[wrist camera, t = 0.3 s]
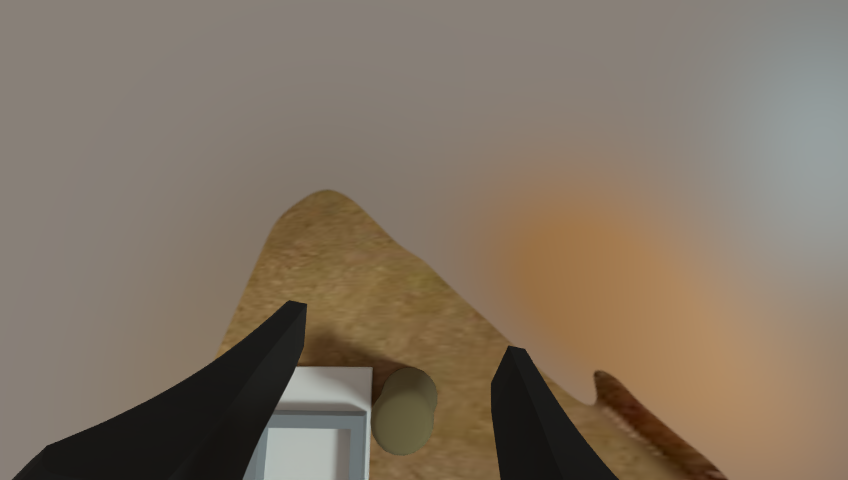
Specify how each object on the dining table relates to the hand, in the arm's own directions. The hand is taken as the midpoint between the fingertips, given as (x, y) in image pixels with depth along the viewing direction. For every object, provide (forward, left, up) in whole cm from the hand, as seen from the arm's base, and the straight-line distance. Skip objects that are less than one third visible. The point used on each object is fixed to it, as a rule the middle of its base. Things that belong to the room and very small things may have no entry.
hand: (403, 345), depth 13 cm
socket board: (-12, +11, -29) cm, 33 cm away
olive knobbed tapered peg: (-7, +1, -29) cm, 30 cm away
